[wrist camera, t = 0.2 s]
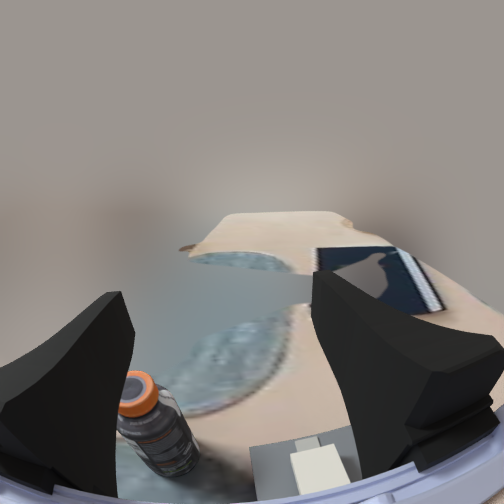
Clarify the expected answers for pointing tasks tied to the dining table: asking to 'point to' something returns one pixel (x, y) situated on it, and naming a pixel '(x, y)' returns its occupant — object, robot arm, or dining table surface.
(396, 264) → the dining table surface
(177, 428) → the pill bottle
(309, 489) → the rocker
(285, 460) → the switch base
